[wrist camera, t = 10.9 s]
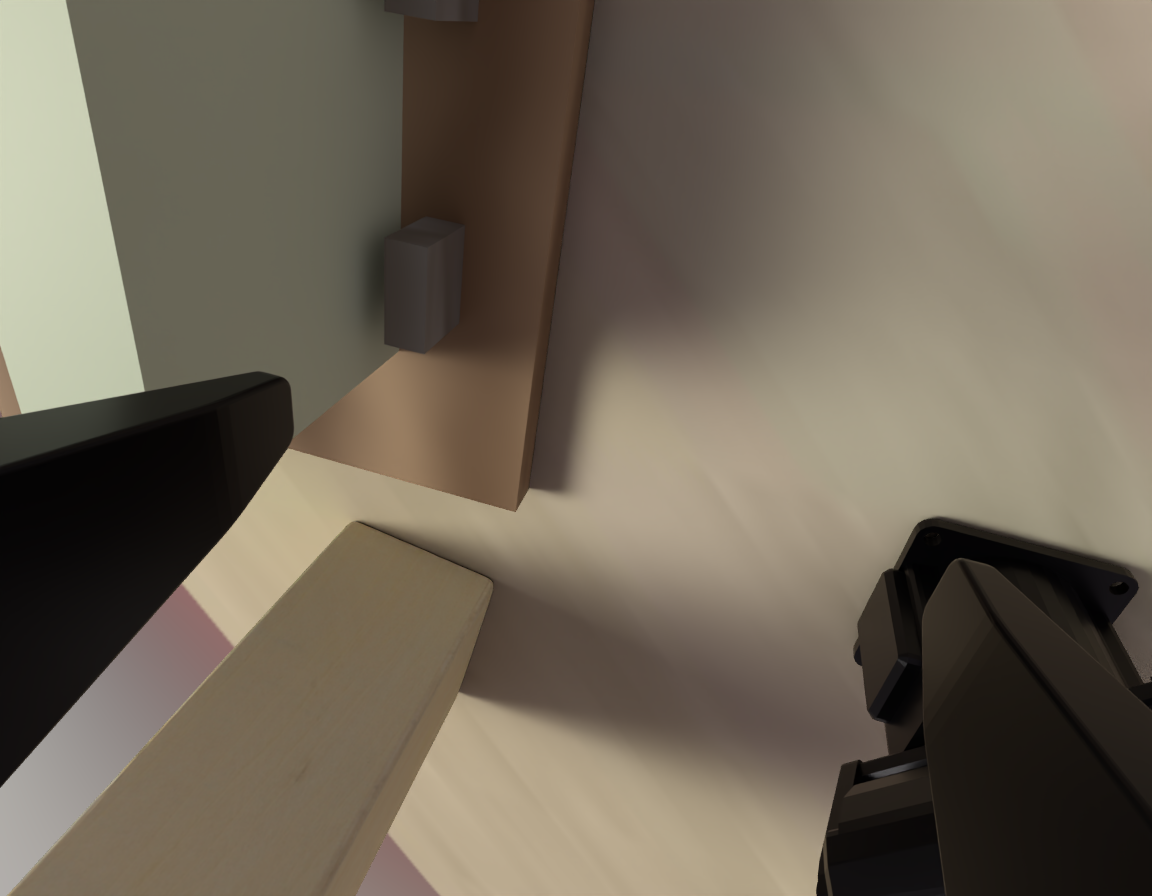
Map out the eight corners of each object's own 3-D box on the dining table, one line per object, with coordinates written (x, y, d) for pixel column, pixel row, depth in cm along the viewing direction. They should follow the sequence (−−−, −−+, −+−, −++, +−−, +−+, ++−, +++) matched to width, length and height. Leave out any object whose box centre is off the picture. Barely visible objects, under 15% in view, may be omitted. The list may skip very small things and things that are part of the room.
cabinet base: (667, -539, 13) (584, -926, 8) (528, 488, 26) (460, 609, 21) (-47, -585, 16) (-493, -912, 10) (147, 383, 28) (-5, 467, 23)
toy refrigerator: (333, 506, 29) (-352, 1224, 12) (498, 576, 29) (45, 1429, 11) (315, 631, 34) (-203, 1291, 16) (458, 693, 33) (87, 1440, 16)
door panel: (407, -238, 15) (-47, -553, 7) (399, 351, 23) (174, 536, 14) (282, -255, 16) (-288, -571, 7) (314, 329, 23) (48, 497, 15)
